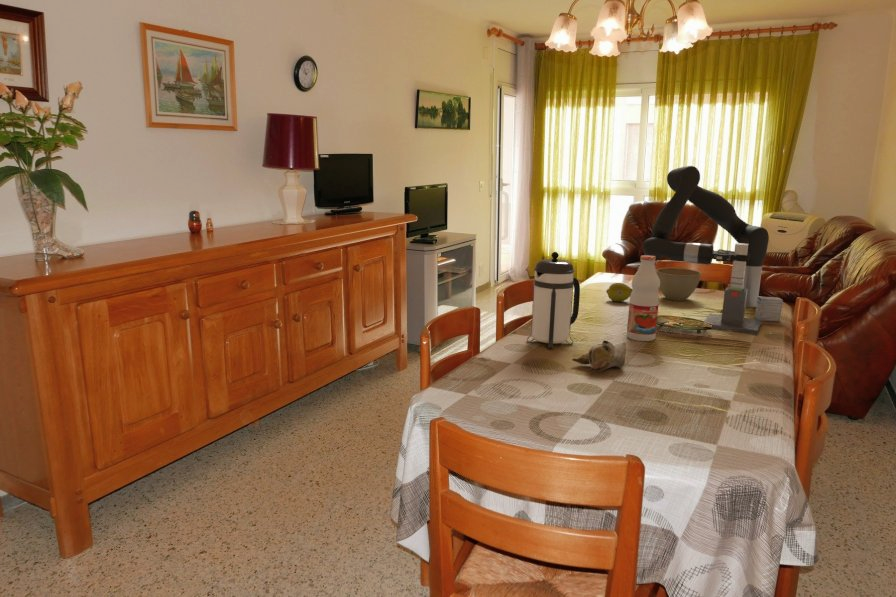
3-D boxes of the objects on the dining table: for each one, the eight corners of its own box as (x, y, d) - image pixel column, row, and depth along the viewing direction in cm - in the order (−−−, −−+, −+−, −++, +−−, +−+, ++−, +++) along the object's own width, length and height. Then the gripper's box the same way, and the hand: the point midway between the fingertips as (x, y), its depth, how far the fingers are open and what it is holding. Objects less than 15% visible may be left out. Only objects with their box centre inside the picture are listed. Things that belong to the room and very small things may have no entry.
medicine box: (775, 319, 251) (778, 297, 249) (780, 322, 247) (783, 299, 245) (754, 318, 252) (757, 296, 250) (758, 321, 248) (761, 298, 246)
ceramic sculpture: (637, 342, 184) (591, 349, 179) (636, 371, 186) (591, 379, 181) (614, 332, 193) (570, 339, 188) (613, 360, 195) (570, 368, 190)
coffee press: (576, 352, 203) (582, 256, 196) (524, 347, 206) (529, 254, 199) (576, 337, 219) (582, 248, 213) (529, 333, 223) (533, 246, 216)
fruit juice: (644, 333, 226) (652, 253, 220) (661, 340, 217) (669, 258, 211) (621, 335, 223) (627, 254, 217) (636, 342, 215) (644, 258, 209)
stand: (702, 327, 237) (706, 290, 234) (709, 317, 252) (713, 282, 249) (756, 334, 228) (761, 297, 225) (760, 323, 243) (765, 288, 240)
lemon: (603, 301, 274) (605, 283, 272) (607, 298, 281) (609, 280, 279) (629, 304, 269) (631, 286, 268) (633, 301, 276) (635, 282, 275)
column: (727, 303, 237) (734, 244, 233) (729, 301, 241) (736, 242, 236) (740, 305, 235) (747, 245, 231) (741, 302, 239) (748, 243, 234)
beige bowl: (645, 295, 289) (648, 268, 286) (680, 293, 294) (683, 267, 292) (670, 304, 272) (673, 275, 269) (706, 302, 277) (710, 274, 275)
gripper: (696, 245, 234) (748, 249, 226) (702, 241, 246) (751, 245, 238) (694, 266, 236) (745, 271, 228) (700, 260, 248) (749, 265, 240)
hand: (748, 257), depth 233 cm, fingers closed on column, 4 cm apart
